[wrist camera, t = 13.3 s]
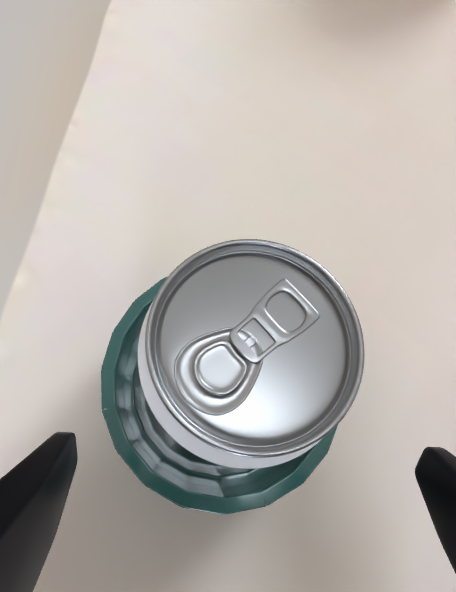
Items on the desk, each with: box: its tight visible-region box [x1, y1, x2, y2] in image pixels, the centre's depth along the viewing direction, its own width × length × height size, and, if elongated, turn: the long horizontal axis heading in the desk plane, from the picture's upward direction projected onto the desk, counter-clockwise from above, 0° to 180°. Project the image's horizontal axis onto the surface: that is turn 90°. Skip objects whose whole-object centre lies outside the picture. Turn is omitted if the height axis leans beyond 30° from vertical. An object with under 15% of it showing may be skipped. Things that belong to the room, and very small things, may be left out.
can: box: [138, 239, 364, 469], centre depth 14 cm, size 6×6×12 cm
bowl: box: [101, 277, 338, 514], centre depth 18 cm, size 11×11×5 cm
